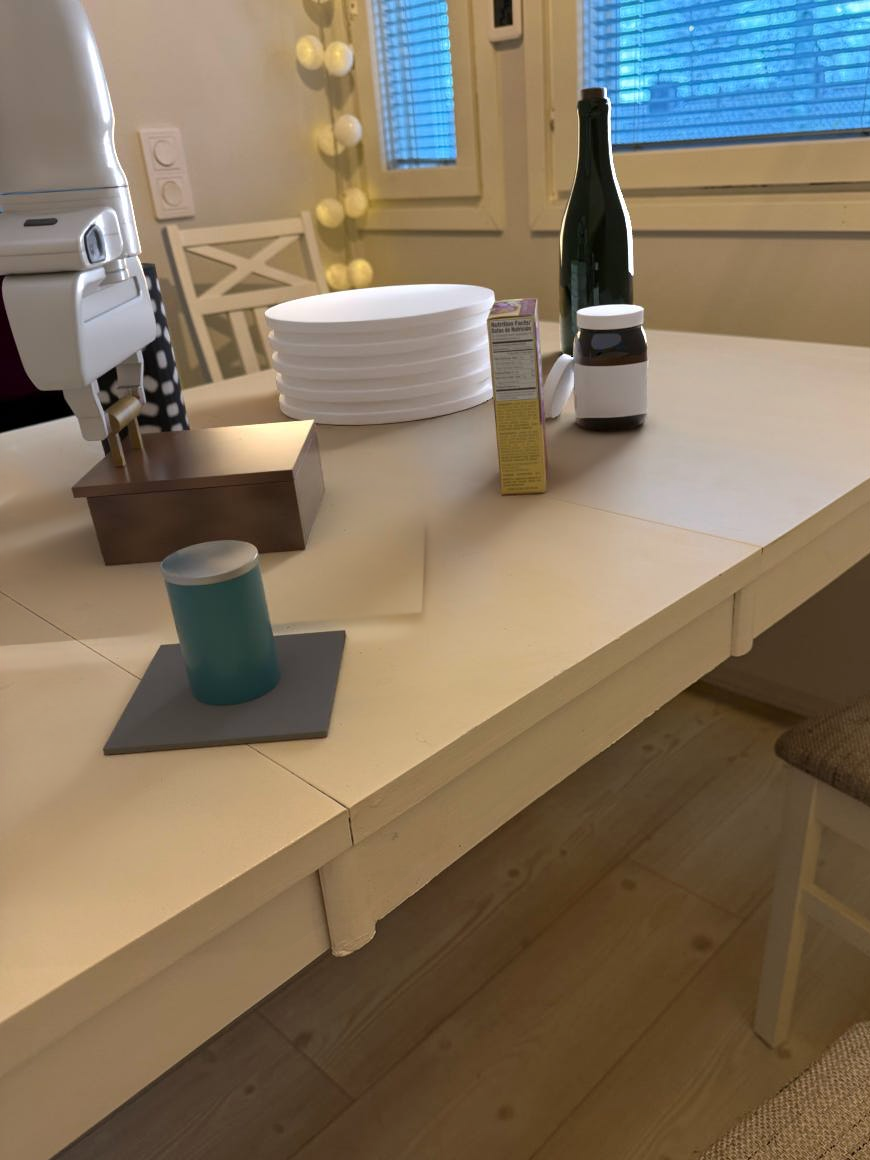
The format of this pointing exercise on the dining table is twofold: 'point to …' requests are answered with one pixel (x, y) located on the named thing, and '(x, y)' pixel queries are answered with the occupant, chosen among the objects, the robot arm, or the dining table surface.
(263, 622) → the can
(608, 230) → the dark green wine bottle
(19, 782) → the dining table surface
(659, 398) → the dining table surface
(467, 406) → the plate stack
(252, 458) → the lid
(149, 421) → the spotted tube
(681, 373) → the dining table surface
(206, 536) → the storage box
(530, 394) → the candy box
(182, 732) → the mat
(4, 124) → the robot arm
